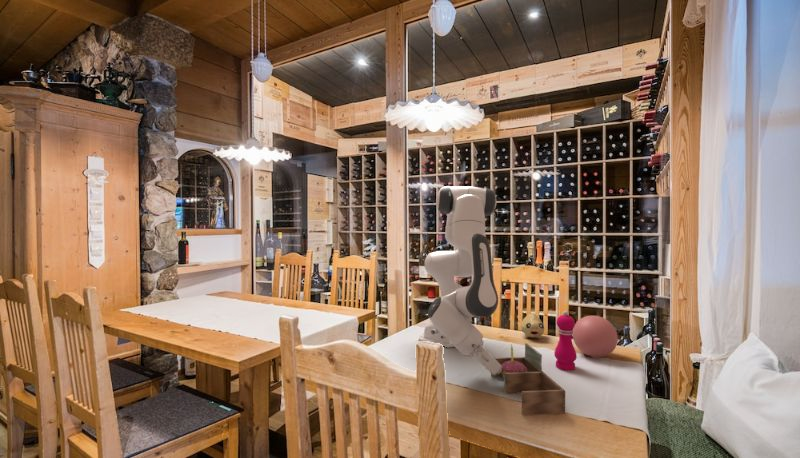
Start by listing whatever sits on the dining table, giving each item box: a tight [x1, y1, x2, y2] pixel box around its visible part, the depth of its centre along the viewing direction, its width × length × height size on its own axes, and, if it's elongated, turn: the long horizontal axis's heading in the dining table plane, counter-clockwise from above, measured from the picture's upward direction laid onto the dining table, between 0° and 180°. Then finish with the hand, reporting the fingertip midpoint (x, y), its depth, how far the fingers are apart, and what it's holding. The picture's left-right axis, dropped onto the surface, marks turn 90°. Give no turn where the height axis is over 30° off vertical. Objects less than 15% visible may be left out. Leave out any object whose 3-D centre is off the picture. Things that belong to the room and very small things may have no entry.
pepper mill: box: [554, 310, 577, 372], centre depth 138 cm, size 7×7×20 cm
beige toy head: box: [520, 313, 545, 340], centre depth 173 cm, size 10×12×11 cm
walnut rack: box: [490, 343, 566, 416], centre depth 118 cm, size 12×26×11 cm, turn 5°
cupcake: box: [501, 344, 528, 381], centre depth 124 cm, size 9×8×12 cm
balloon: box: [572, 315, 619, 358], centre depth 152 cm, size 15×20×15 cm
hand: (499, 370), depth 124 cm, fingers closed, pressing on cupcake
